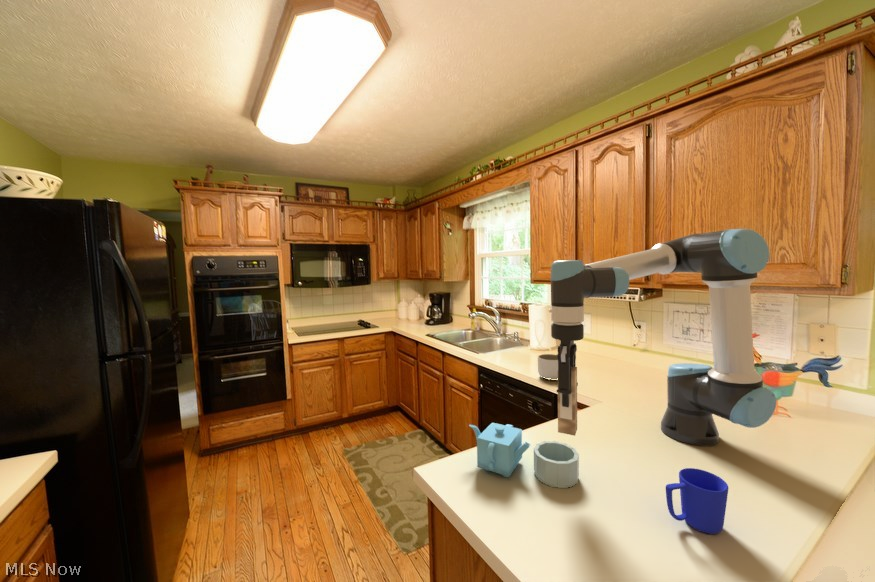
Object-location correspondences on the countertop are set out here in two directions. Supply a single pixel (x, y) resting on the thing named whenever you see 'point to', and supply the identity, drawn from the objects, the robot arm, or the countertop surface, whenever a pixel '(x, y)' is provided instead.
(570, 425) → the wooden post
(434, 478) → the countertop surface
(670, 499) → the mug
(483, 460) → the teapot
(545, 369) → the planter
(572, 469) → the grey round bowl
